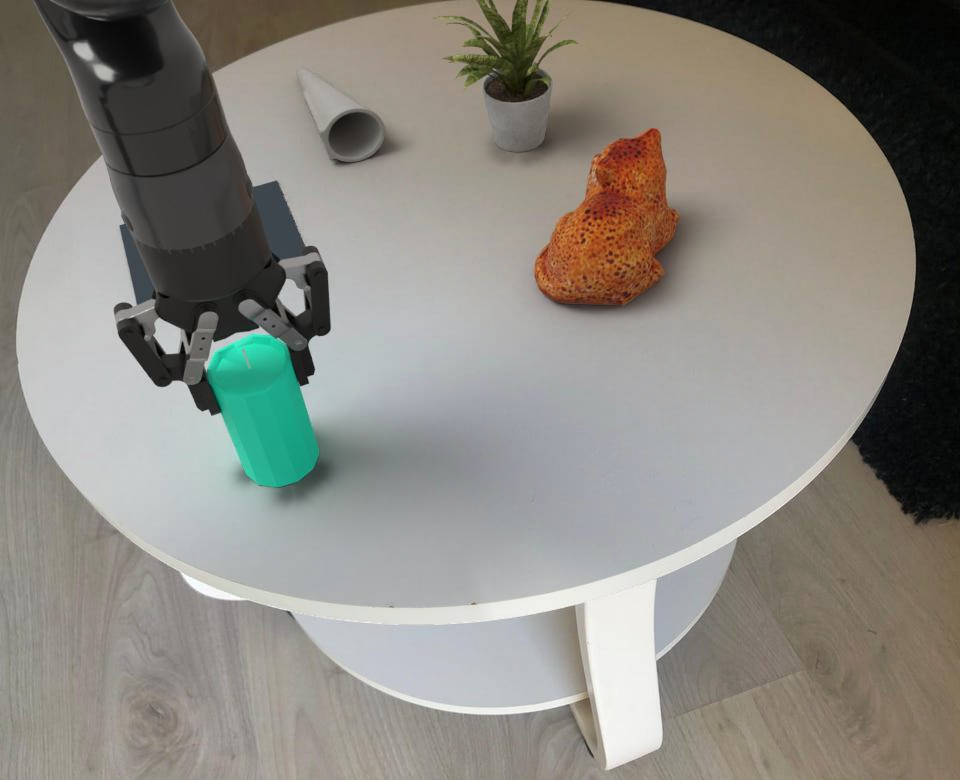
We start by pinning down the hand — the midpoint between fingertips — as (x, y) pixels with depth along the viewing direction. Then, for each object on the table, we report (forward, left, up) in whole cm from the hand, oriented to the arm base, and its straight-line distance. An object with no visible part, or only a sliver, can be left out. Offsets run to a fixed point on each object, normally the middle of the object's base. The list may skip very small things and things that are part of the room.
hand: (257, 391), depth 71 cm
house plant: (+33, +32, -8) cm, 47 cm away
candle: (0, 0, -8) cm, 8 cm away
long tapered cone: (+17, +44, -8) cm, 48 cm away
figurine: (+33, +10, -8) cm, 35 cm away
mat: (0, +28, -8) cm, 29 cm away
